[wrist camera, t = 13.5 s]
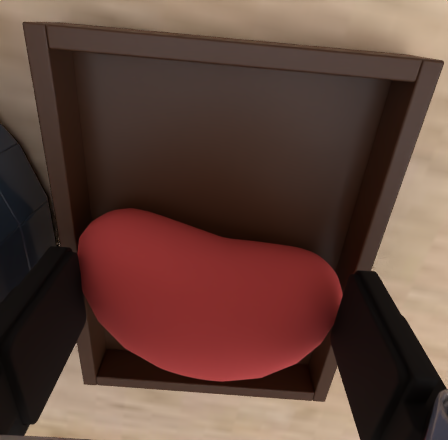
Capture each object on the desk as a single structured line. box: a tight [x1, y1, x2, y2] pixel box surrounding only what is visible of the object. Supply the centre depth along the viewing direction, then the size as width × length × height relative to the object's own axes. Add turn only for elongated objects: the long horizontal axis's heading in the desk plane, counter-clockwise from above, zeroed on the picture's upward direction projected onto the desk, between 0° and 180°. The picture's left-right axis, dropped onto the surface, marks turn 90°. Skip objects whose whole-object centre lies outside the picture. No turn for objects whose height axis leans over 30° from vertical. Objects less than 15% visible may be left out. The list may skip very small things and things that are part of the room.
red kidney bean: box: [77, 208, 343, 382], centre depth 13 cm, size 5×9×6 cm
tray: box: [23, 22, 444, 402], centre depth 14 cm, size 11×15×2 cm
